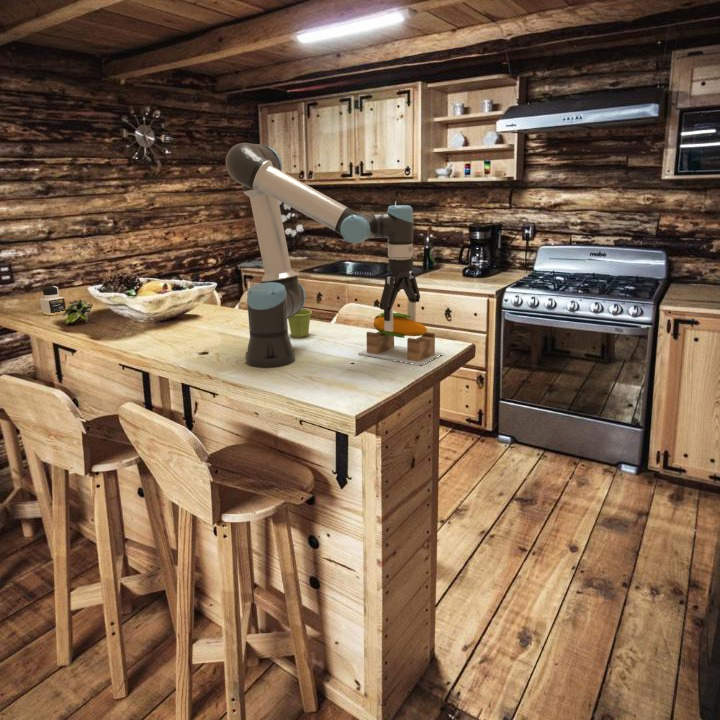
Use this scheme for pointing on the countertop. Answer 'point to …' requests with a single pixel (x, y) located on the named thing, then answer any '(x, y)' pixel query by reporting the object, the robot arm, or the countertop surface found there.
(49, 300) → the medicine bottle
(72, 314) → the leafy green plant
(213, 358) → the countertop surface
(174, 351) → the countertop surface
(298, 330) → the plant pot
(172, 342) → the countertop surface
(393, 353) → the mat
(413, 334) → the corn
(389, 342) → the wooden brackets on board
